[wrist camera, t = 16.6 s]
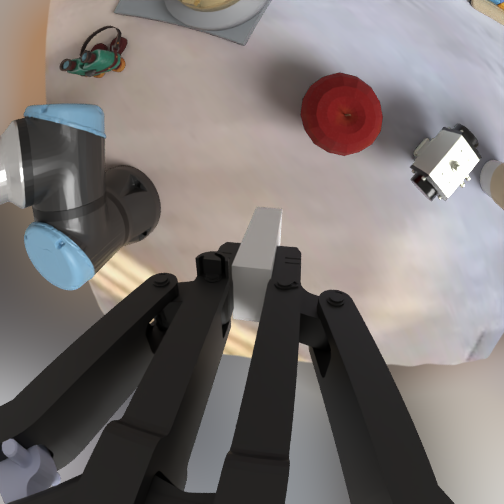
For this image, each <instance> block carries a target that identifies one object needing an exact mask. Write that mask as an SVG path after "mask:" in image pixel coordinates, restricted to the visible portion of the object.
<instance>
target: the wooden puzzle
mask: <svg viewBox="0 0 504 504" xmlns="http://www.w3.org/2000/svg"><path fill="white" fill-rule="evenodd" d="M471 5H472V7H473V8H474V9H476V10H478V11H479V12H481V13H483V14H485V15H487V16H488V17H490V18H492V19H494V20H495V21H497V22H499V23H500V24H502V25H504V0H471Z"/></svg>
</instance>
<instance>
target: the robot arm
mask: <svg viewBox="0 0 504 504" xmlns="http://www.w3.org/2000/svg"><path fill="white" fill-rule="evenodd" d="M24 117H25V118H22V119H18V120H14V121H12V122H11V123H10V125H9V126H8V128H7V129H6V130H5V132H4V133H3V134H2V135H1V136H0V204H3V203H5V202H12V203H14V204H15V205H17V206H18V207H20V208H26V207H28V206H32V208H33V213H34V220H35V222H33V223H31V224H30V225H29V227H28V228H27V229H26V232H25V236H24V243H25V248H26V251H27V253H28V255H29V258H30V260H31V262H32V263H33V265H34V266H35V268H36V269H37V270H38V271H39V273H41V275H42V276H43V277H44V278H45V279H46V280H48V281H49V282H50V283H52V284H53V285H55V286H57V287H59V288H61V289H65V290H75V289H77V288H79V287H81V286H82V285H83V284H84V283H85V282H86V281H88V280H90V279H91V278H92V277H93V276H94V275H95V274H96V273H97V272H98V271H99V270H100V269H101V268H102V267H103V265H104V264H105V263H106V262H107V261H108V260H109V259H110V258H111V257H112V256H113V255H114V254H115V253H116V252H117V251H118V250H119V249H120V248H121V247H123V246H126V245H129V244H132V243H135V242H139V241H141V240H143V239H144V238H146V237H147V236H148V235H149V234H150V233H151V232H152V231H153V230H154V229H155V227H156V226H157V224H158V221H159V218H160V212H161V206H160V199H159V196H158V193H157V190H156V188H155V186H154V185H153V183H152V182H151V180H150V179H149V178H148V177H147V176H146V175H145V174H144V173H142V172H141V171H139V170H138V169H136V168H133V167H130V166H118V167H115V168H112V169H110V170H108V171H106V172H105V138H106V135H105V133H104V113H103V110H102V109H101V108H100V107H99V106H97V105H92V104H49V105H48V104H46V105H32V106H28V107H27V108H26V110H25V112H24ZM281 222H282V209H279V208H266V207H256V209H255V212H254V214H253V216H252V219H251V221H250V224H249V226H248V228H247V231H246V233H245V235H244V238H243V240H242V242H241V243H233V242H226V243H225V244H223V245H222V246H220V248H219V250H218V251H217V252H216V251H210V252H205V253H202V254H200V255H198V256H197V257H196V268H197V277H196V279H195V280H194V281H190V282H179V283H178V281H177V278H176V276H175V275H173V274H170V273H159V274H156V275H153V276H151V277H150V278H148V279H147V280H146V281H145V282H144V283H142V284H141V285H140V286H139V287H137V288H136V289H135V290H134V291H133V292H131V293H130V294H129V295H128V296H127V297H126V298H124V299H123V300H122V301H121V302H120V303H118V304H117V305H116V306H115V307H114V308H113V309H111V310H110V311H109V312H108V313H107V314H106V315H104V317H102V318H101V319H100V320H99V321H98V322H96V323H95V324H94V325H93V326H92V327H91V328H90V329H88V330H87V331H86V332H85V333H84V334H83V335H82V336H80V337H79V338H78V339H77V340H76V341H75V342H74V343H73V344H71V345H70V346H69V347H68V348H67V349H66V350H65V351H64V352H63V353H62V354H60V355H59V356H58V357H57V358H56V359H55V360H54V361H53V362H52V363H51V364H50V365H49V366H47V367H46V368H45V369H44V370H43V371H42V372H41V373H40V374H39V375H38V376H37V377H36V378H35V379H34V380H33V381H32V382H31V383H30V384H29V385H28V386H26V387H25V388H24V389H23V391H21V392H20V393H19V394H18V395H17V396H16V397H15V398H14V399H13V400H12V401H9V402H8V403H6V404H4V405H2V406H0V493H1V496H2V498H3V501H4V503H5V504H285V498H286V491H287V484H288V477H289V466H290V461H289V450H290V441H291V431H292V422H293V411H294V401H295V389H296V377H297V363H298V348H299V342H300V343H302V344H305V345H308V346H309V352H310V355H311V359H312V362H313V365H314V369H315V372H316V376H317V379H318V383H319V386H320V390H321V393H322V396H323V400H324V404H325V407H326V411H327V414H328V418H329V422H330V425H331V429H332V432H333V436H334V440H335V444H336V447H337V451H338V455H339V459H340V463H341V467H342V471H343V474H344V478H345V482H346V486H347V490H348V494H349V498H350V502H351V504H454V502H453V501H452V500H451V499H450V498H449V497H448V496H447V495H446V494H445V493H444V491H443V490H442V489H441V488H440V487H439V486H438V484H437V481H436V478H435V476H434V473H433V470H432V468H431V465H430V462H429V460H428V457H427V455H426V452H425V450H424V447H423V445H422V442H421V440H420V438H419V435H418V433H417V430H416V428H415V426H414V423H413V421H412V419H411V416H410V414H409V412H408V410H407V407H406V405H405V403H404V401H403V399H402V396H401V394H400V392H399V390H398V388H397V386H396V384H395V382H394V380H393V378H392V375H391V373H390V371H389V369H388V367H387V365H386V363H385V361H384V359H383V357H382V355H381V353H380V351H379V349H378V347H377V345H376V343H375V341H374V339H373V337H372V335H371V333H370V332H369V330H368V328H367V326H366V324H365V322H364V320H363V318H362V316H361V315H360V313H359V311H358V309H357V307H356V305H355V304H354V302H353V300H352V298H351V297H350V296H349V295H348V294H346V293H344V292H342V291H339V290H327V291H324V292H322V293H321V294H320V296H317V295H314V294H311V293H309V292H307V291H306V290H305V289H304V288H303V287H302V286H301V282H300V280H301V252H300V251H299V249H298V248H297V247H286V246H280V237H281ZM232 312H233V319H239V320H247V321H255V322H259V327H258V331H257V336H256V340H255V345H254V350H253V354H252V359H251V363H250V368H249V372H248V377H247V381H246V386H245V390H244V394H243V399H242V403H241V407H240V412H239V417H238V420H237V424H236V429H235V433H234V437H233V441H232V445H231V448H230V451H229V452H228V453H227V455H226V458H225V461H224V465H223V468H222V472H221V476H220V480H219V484H218V488H217V491H216V493H188V492H184V488H185V485H186V481H187V466H188V462H189V459H190V455H191V452H192V449H193V446H194V443H195V440H196V436H197V433H198V430H199V427H200V423H201V420H202V417H203V414H204V411H205V408H206V405H207V401H208V398H209V395H210V392H211V389H212V385H213V382H214V379H215V376H216V373H217V369H218V366H219V363H220V360H221V357H222V354H223V350H224V347H225V344H226V341H227V338H228V334H229V331H230V328H231V315H232ZM153 318H154V321H153V322H152V323H151V324H150V323H149V322H150V321H151V320H152V319H153ZM136 388H137V389H136ZM135 389H136V391H135V393H134V395H133V397H132V399H131V401H130V404H129V406H128V407H127V409H126V411H125V413H124V415H123V417H122V418H121V419H120V420H114V421H111V422H110V423H109V424H107V426H106V427H105V429H104V430H103V432H102V434H101V436H100V438H99V440H98V443H97V444H96V447H95V448H94V451H93V453H92V455H91V457H90V459H89V461H88V463H87V465H86V467H85V469H84V472H83V474H81V475H79V476H76V477H74V478H72V479H70V480H68V481H65V482H63V483H61V484H59V483H60V482H61V477H60V475H59V473H58V472H57V471H58V470H59V469H61V468H63V467H65V466H66V465H67V464H69V463H70V462H71V461H72V460H73V459H75V458H76V457H77V456H78V455H79V454H80V452H81V451H83V449H84V448H85V447H86V446H87V445H88V444H89V442H90V441H91V440H92V439H93V438H94V437H95V435H96V434H97V433H98V432H99V431H100V430H101V428H102V427H103V426H104V425H105V424H106V423H107V422H108V420H109V419H110V418H111V417H112V416H113V415H114V413H115V412H116V411H117V410H118V409H119V407H121V405H122V404H123V403H124V402H125V401H126V400H127V398H128V397H129V396H130V395H131V394H132V393H133V391H134V390H135ZM51 485H52V486H53V487H51V488H49V487H50V486H51Z"/></svg>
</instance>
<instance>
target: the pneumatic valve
mask: <svg viewBox="0 0 504 504" xmlns="http://www.w3.org/2000/svg"><path fill="white" fill-rule="evenodd" d="M477 146H478V141H477V139H476V138H475V136H474V135H473V134H472V133H471V132H470V131H469V130H468V129H467V128H466V127H465V126H463V125H461V124H456V125H455V127H454V128H453V129H451V128H450V127H448V128H446V127H443V128H442V130H441V131H440V132H439V133H438V135H437V136H436V137H435V138H433V139H432V140H431V141H429V138H426V139H424V140H423V141H422V142H421V143H420V145H419V146H418V147H417V148H416V149H415V151H414V154H413V155H414V156H417V158H416V159H415V162H414V163H413V164H412V165H411V166H410V168H411V169H412V172H413V173H415V175H414V176H413V177H412V178H411V181H412V182H413V184H414V185H415V186H416V187H417V188H418V189H419V190H420V191H421V192H422V193H423V194H424V195H425V196H426V197H427V198H428V199H429V200H430V201H432V200H433V199H434V198H435V197H436V196H438V198H439V199H443V200H444V201H446V200H447V199H448V198H449V196H450V195H451V194H452V193H453V192H454V191H455V189H456V188H457V187H458V186H459V185H460V186H461V187H462V188H463V187H464V186H465V183H464V182H463V180H464V179H465V178H466V180H467V181H469V180H470V176H469V175H468V174H469V173H470V171H471V170H472V169H473V168H474V166H475V165H476V164H477V163H478V161H479V160H480V159H481V158H482V157H481V155H480V154H479V152H478V151H477V149H476V148H477Z"/></svg>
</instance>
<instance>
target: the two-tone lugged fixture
mask: <svg viewBox="0 0 504 504" xmlns="http://www.w3.org/2000/svg"><path fill="white" fill-rule="evenodd" d="M178 1H180V2H181V3H183V4H184V5H185V6H187V7H188V8H190V9H192V10H195V11H199V12H215V11H219V10H223V9H226V8H228V7H230V6H232V5H234V4H236V3H237V2H238V1H240V0H178Z"/></svg>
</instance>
